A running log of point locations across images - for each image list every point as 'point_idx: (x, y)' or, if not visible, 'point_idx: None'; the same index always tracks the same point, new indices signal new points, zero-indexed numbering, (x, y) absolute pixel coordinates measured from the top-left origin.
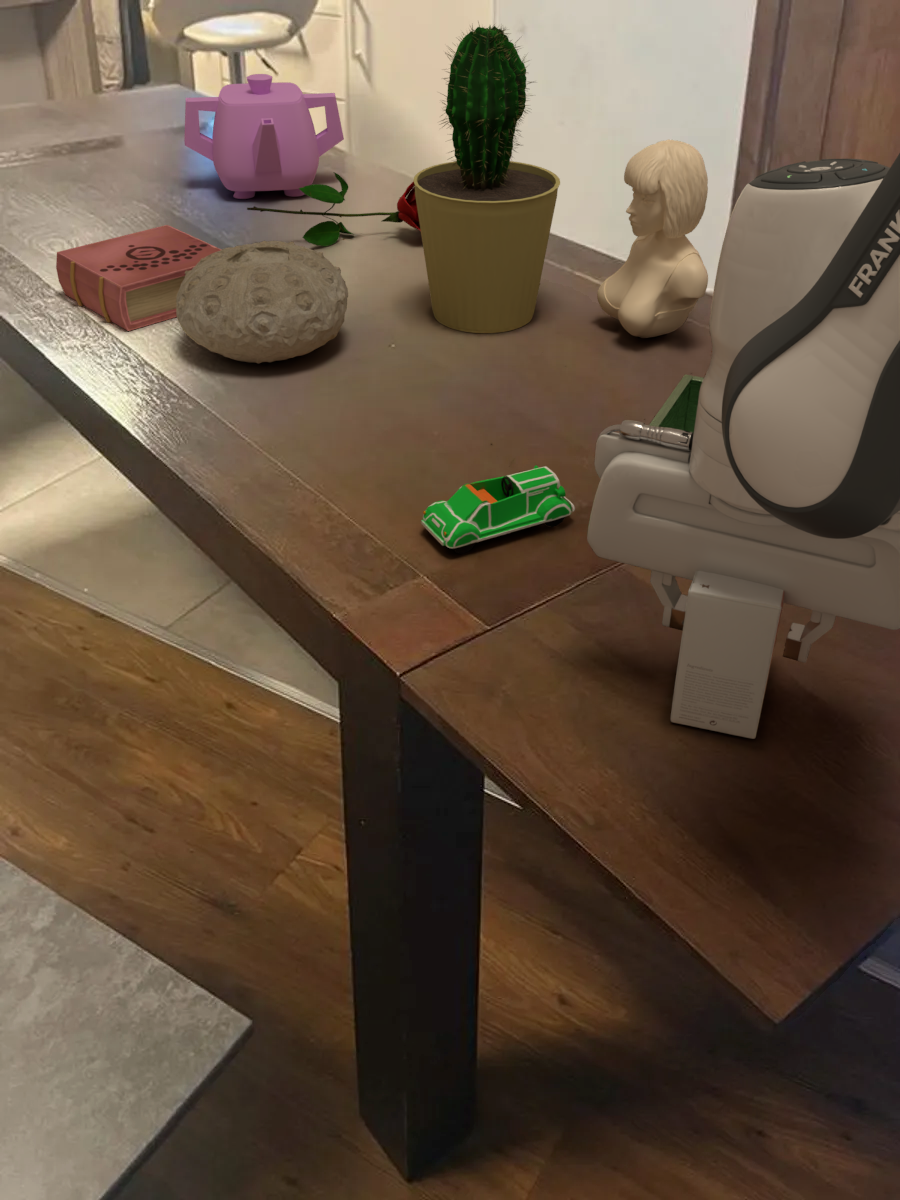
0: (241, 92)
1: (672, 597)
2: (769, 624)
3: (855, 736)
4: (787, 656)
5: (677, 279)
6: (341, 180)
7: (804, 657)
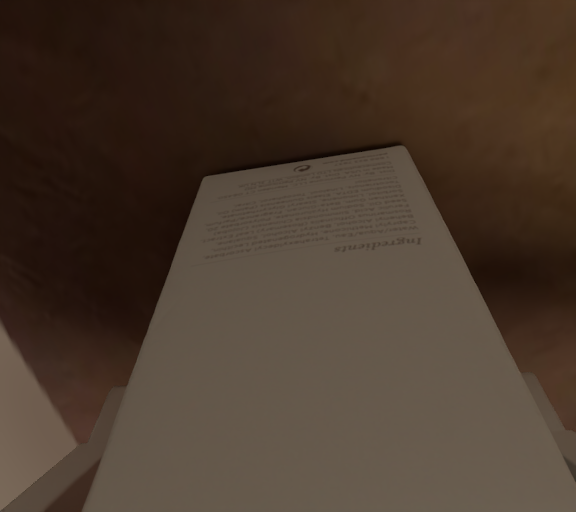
0: None
1: None
2: (128, 468)
3: (40, 280)
4: None
5: None
6: None
7: (110, 398)
